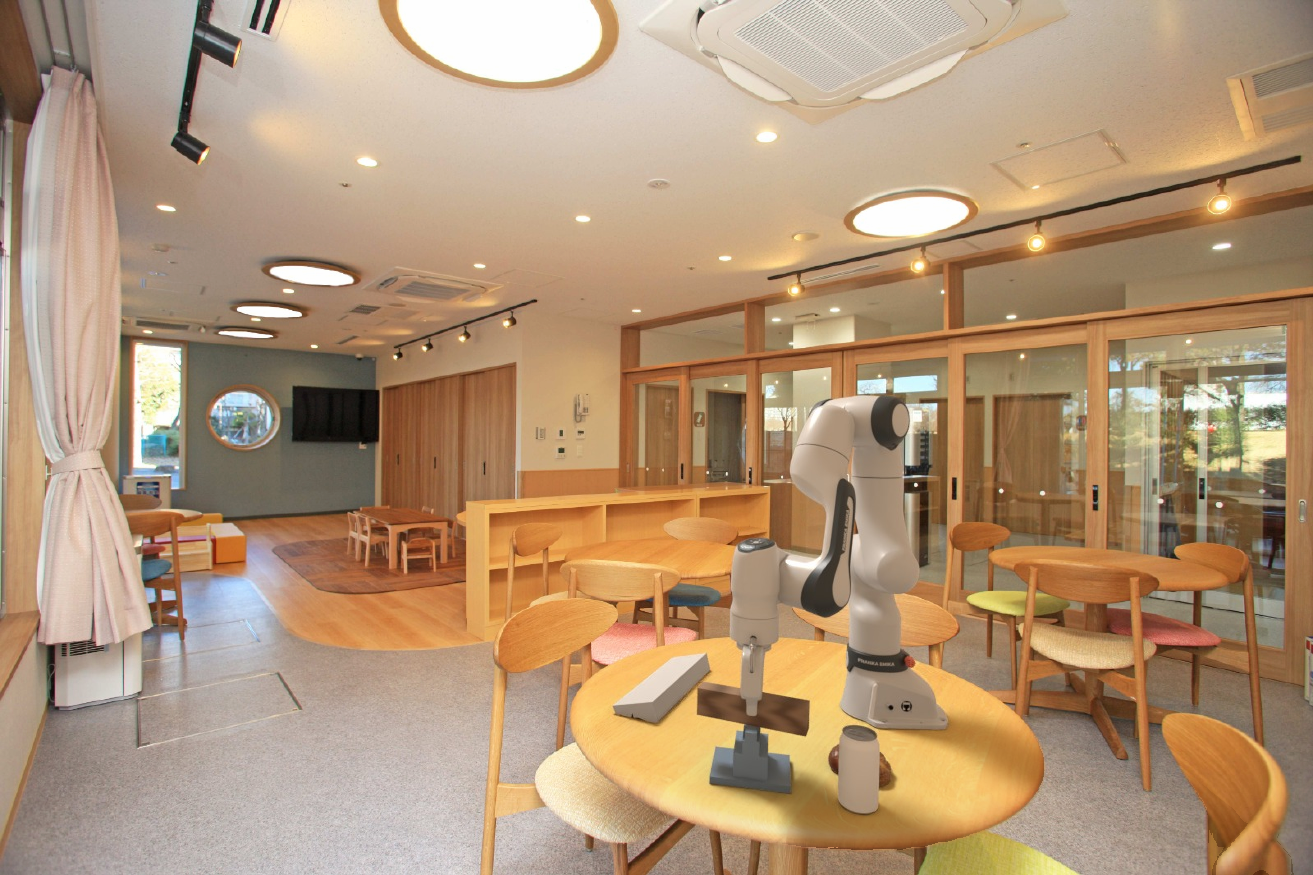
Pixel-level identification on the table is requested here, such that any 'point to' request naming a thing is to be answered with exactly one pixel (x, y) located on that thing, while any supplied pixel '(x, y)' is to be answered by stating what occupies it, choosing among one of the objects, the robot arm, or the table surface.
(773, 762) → the gray stepped block
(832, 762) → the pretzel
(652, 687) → the beige long block
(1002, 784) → the table surface
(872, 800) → the can
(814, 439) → the robot arm
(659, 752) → the table surface
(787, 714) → the walnut bar
